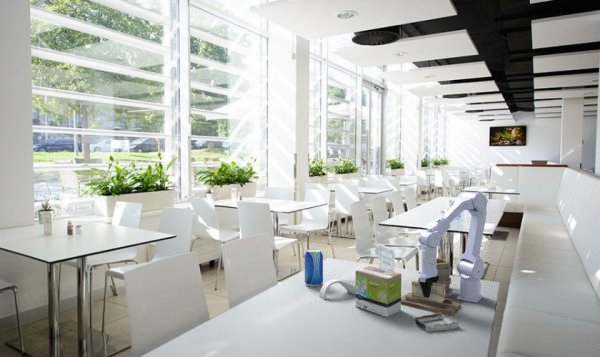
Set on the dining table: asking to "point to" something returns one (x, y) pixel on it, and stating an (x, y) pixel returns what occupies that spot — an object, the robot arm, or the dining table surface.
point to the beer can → (313, 268)
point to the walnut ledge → (430, 304)
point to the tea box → (378, 290)
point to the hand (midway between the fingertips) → (428, 295)
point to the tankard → (444, 274)
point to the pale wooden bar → (435, 293)
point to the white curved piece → (347, 284)
